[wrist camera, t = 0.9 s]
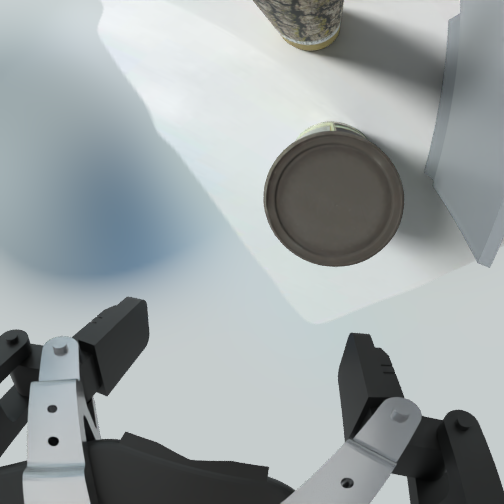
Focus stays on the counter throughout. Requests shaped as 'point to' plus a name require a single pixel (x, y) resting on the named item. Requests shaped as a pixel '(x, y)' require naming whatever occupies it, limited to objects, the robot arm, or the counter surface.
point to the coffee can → (333, 196)
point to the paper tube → (304, 21)
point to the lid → (477, 131)
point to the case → (445, 97)
